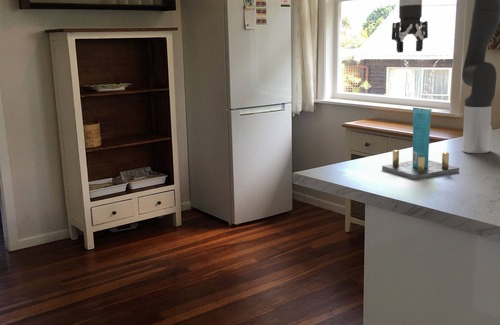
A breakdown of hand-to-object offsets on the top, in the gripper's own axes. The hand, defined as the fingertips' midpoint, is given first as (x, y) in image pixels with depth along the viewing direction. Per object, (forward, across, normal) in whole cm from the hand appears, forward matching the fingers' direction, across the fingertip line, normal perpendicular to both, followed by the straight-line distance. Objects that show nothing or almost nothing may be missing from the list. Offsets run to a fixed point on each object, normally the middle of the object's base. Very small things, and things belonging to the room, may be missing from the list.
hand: (409, 51), depth 191 cm
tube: (+37, +12, +20) cm, 43 cm away
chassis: (+38, +12, +20) cm, 44 cm away
